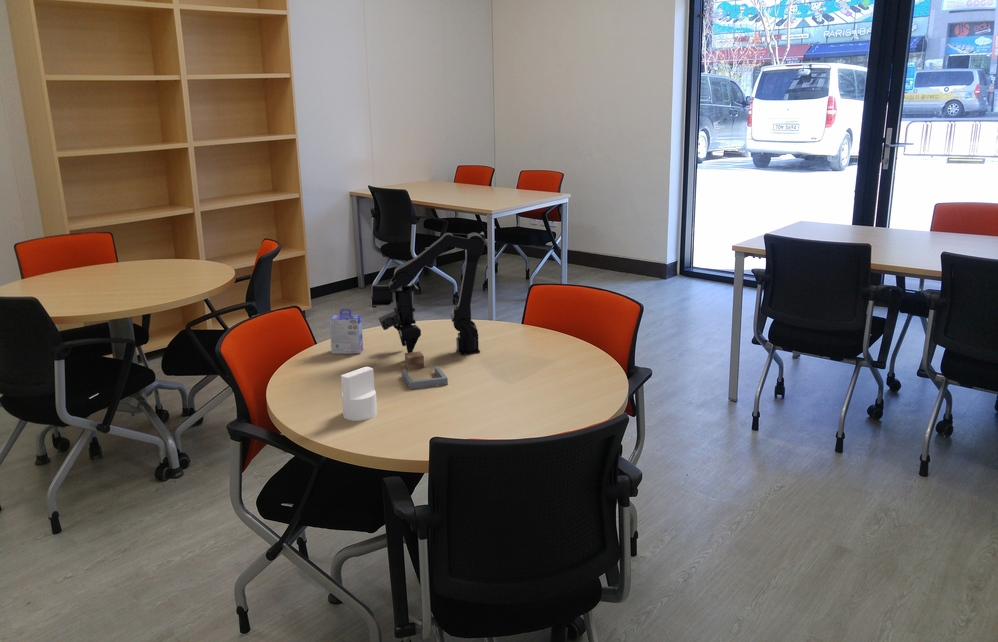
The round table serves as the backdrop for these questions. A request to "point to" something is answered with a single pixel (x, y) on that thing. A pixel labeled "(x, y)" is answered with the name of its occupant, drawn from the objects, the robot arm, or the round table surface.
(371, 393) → the cylinder with rectangular tab
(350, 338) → the ink cartridge box
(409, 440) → the round table surface
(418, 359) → the walnut block
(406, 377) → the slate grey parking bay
